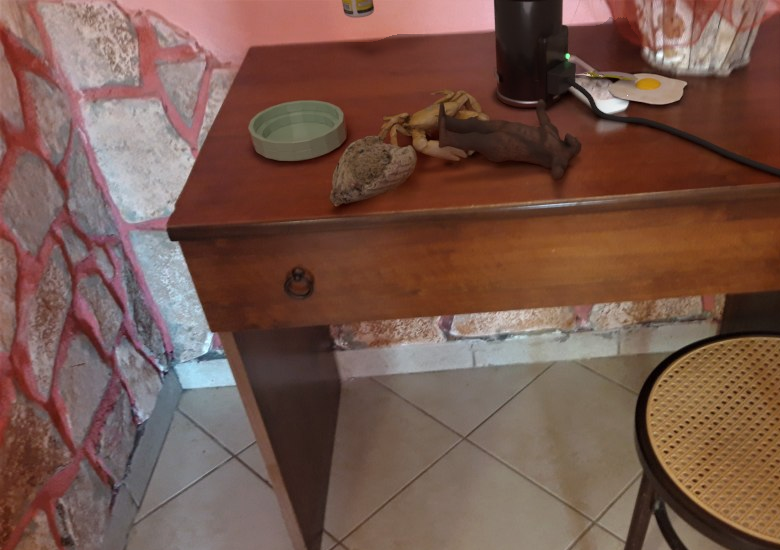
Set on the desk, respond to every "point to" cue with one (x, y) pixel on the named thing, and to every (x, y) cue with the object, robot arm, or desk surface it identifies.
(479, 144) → the figurine
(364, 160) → the seashell
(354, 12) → the supplement bottle
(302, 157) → the dish
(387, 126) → the crab model
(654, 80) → the cracked egg
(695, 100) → the desk surface
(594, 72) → the decorative knife
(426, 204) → the desk surface
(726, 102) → the desk surface
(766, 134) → the desk surface
